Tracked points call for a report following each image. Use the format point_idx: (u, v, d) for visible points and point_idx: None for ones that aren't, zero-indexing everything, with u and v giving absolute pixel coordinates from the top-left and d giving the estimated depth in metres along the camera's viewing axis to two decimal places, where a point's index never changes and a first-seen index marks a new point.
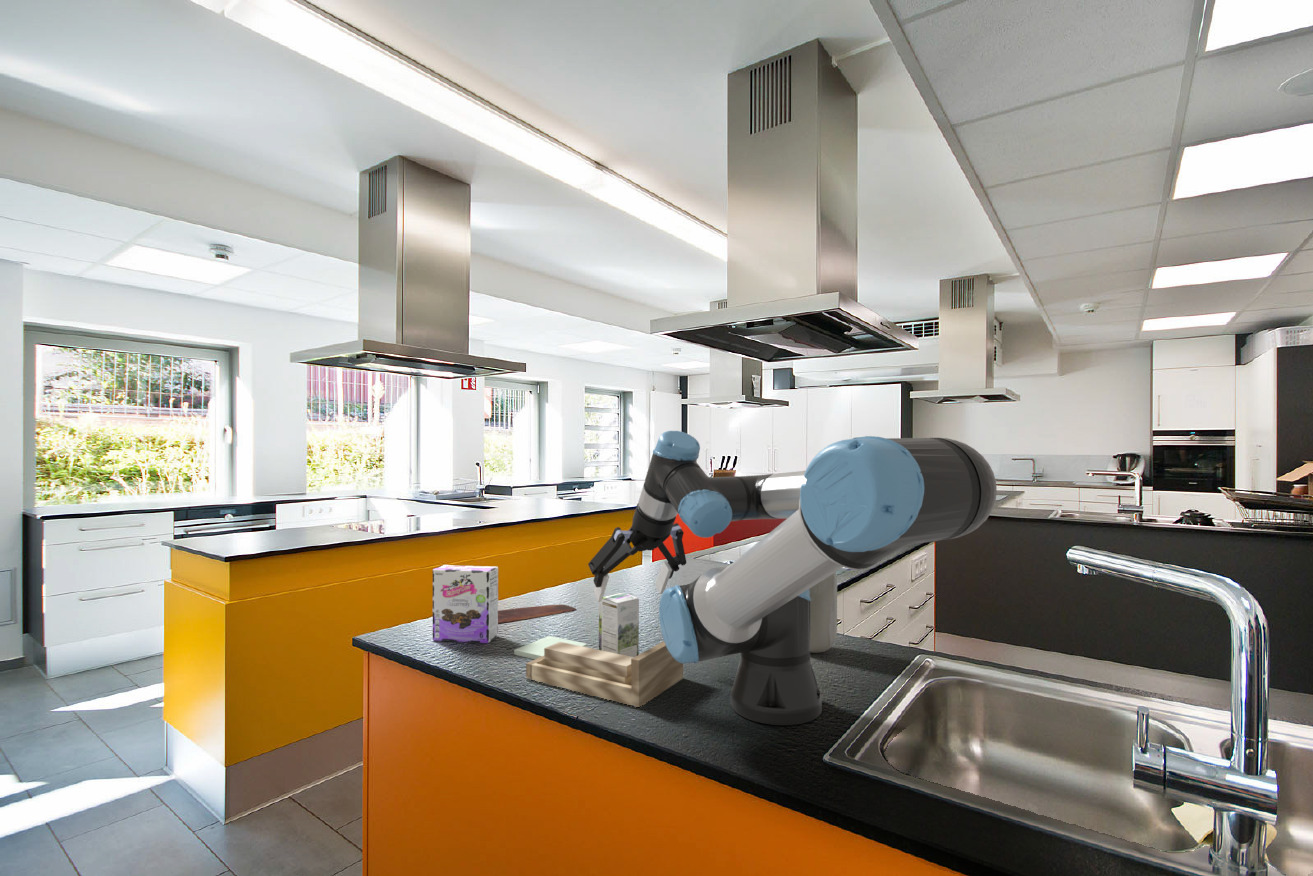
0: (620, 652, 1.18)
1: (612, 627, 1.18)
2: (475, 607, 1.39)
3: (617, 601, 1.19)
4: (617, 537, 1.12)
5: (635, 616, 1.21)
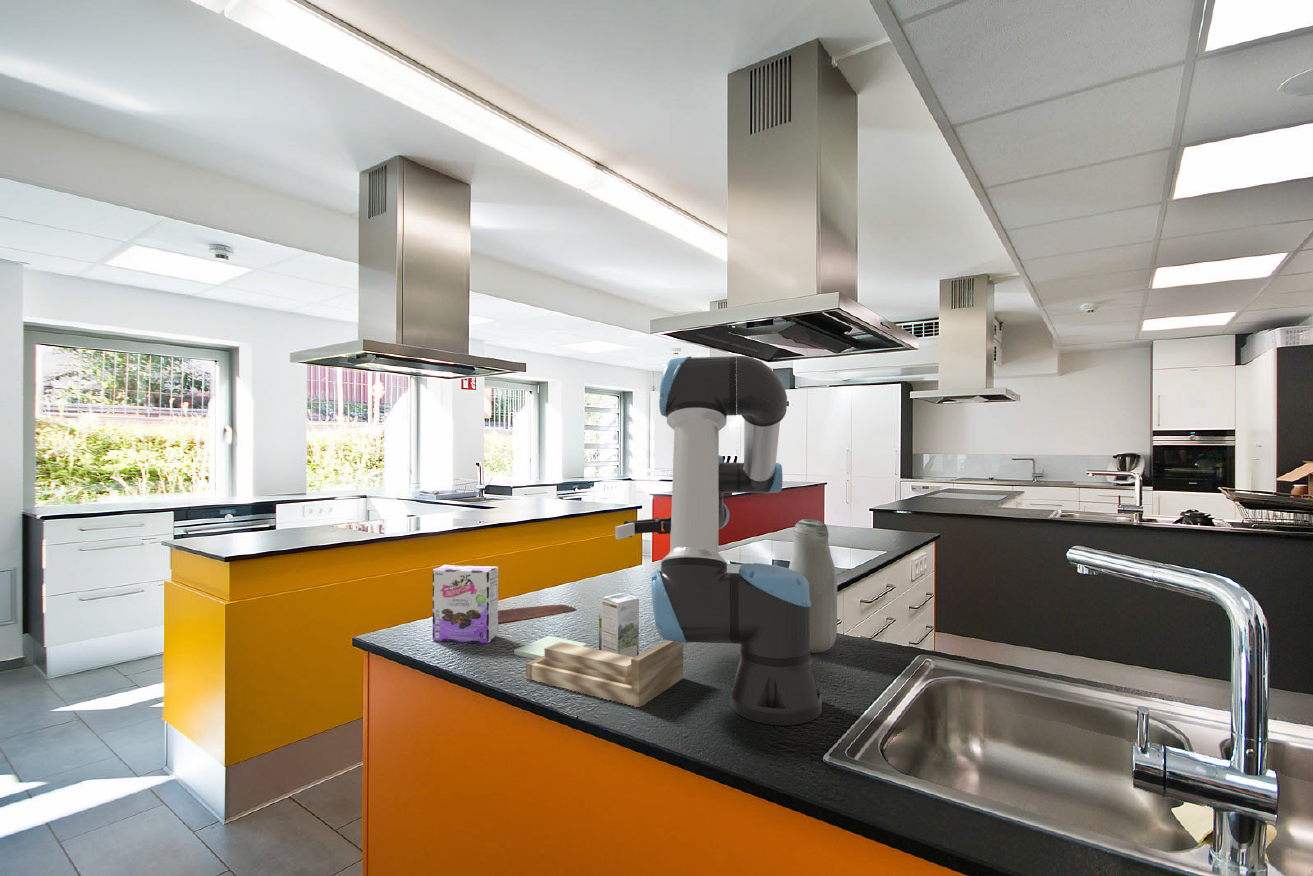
0: (620, 652, 1.18)
1: (612, 627, 1.18)
2: (475, 607, 1.39)
3: (617, 601, 1.19)
4: None
5: (635, 616, 1.21)
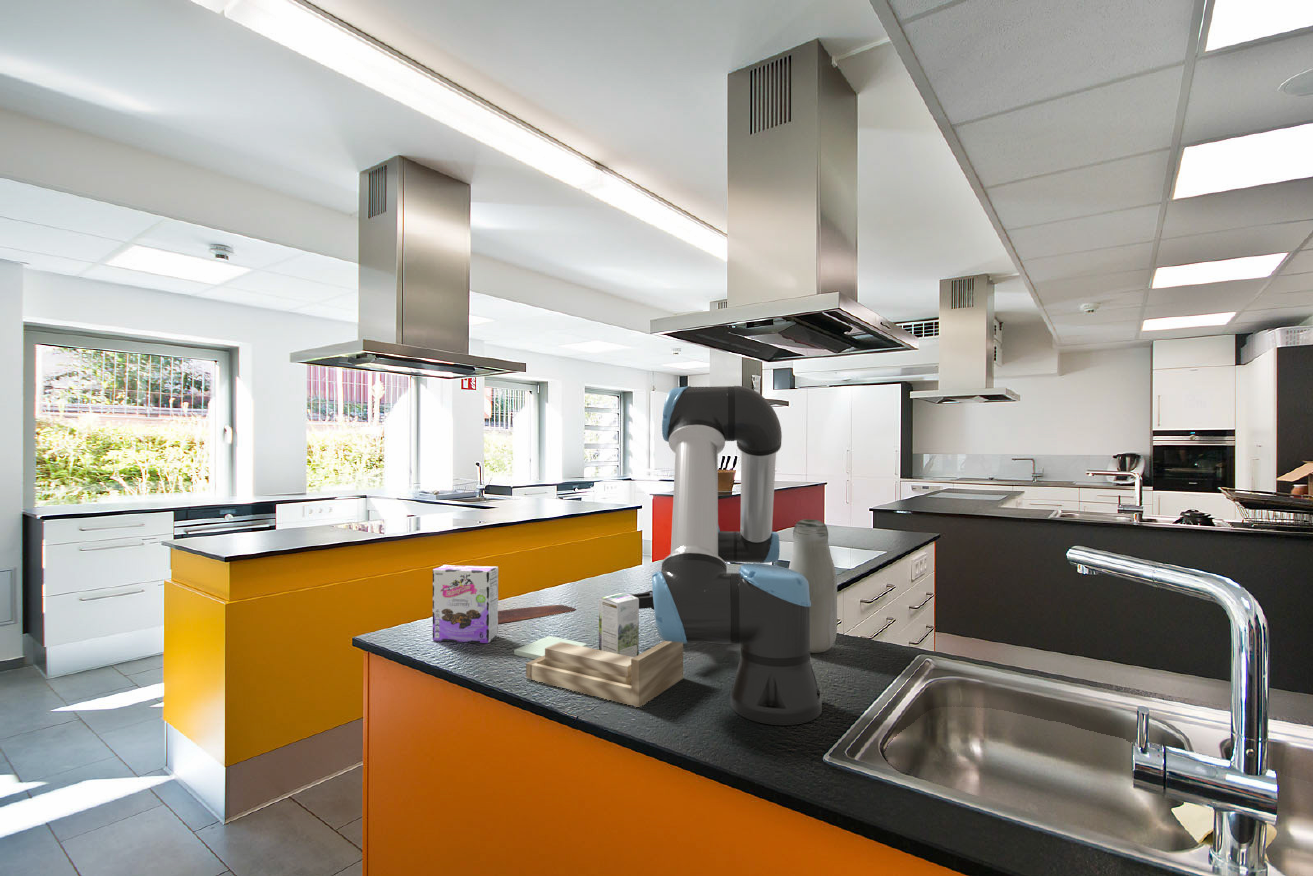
0: (620, 652, 1.18)
1: (612, 628, 1.18)
2: (475, 607, 1.39)
3: (617, 601, 1.19)
4: None
5: (635, 616, 1.21)
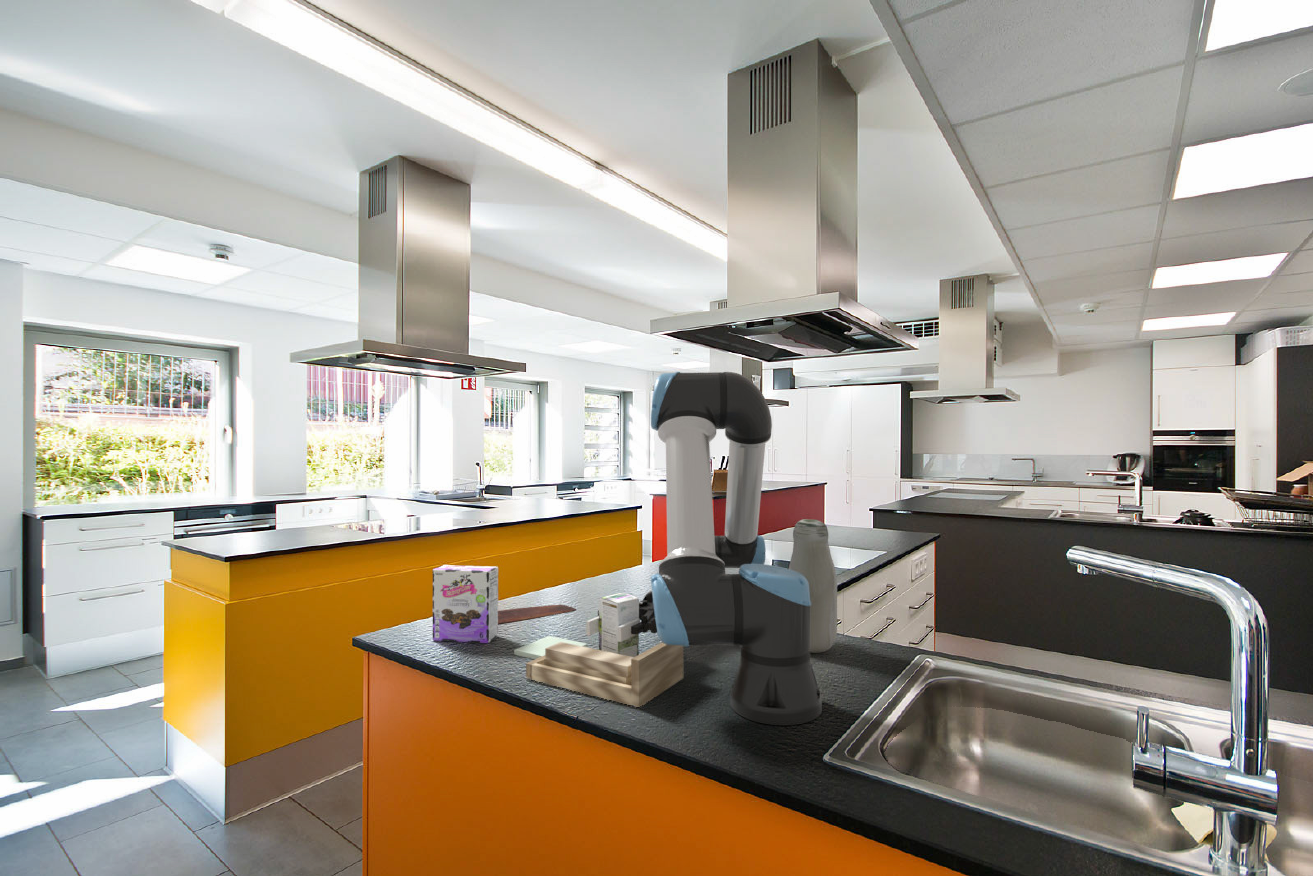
0: (620, 652, 1.18)
1: (612, 627, 1.18)
2: (475, 607, 1.39)
3: (617, 601, 1.19)
4: None
5: (635, 616, 1.21)
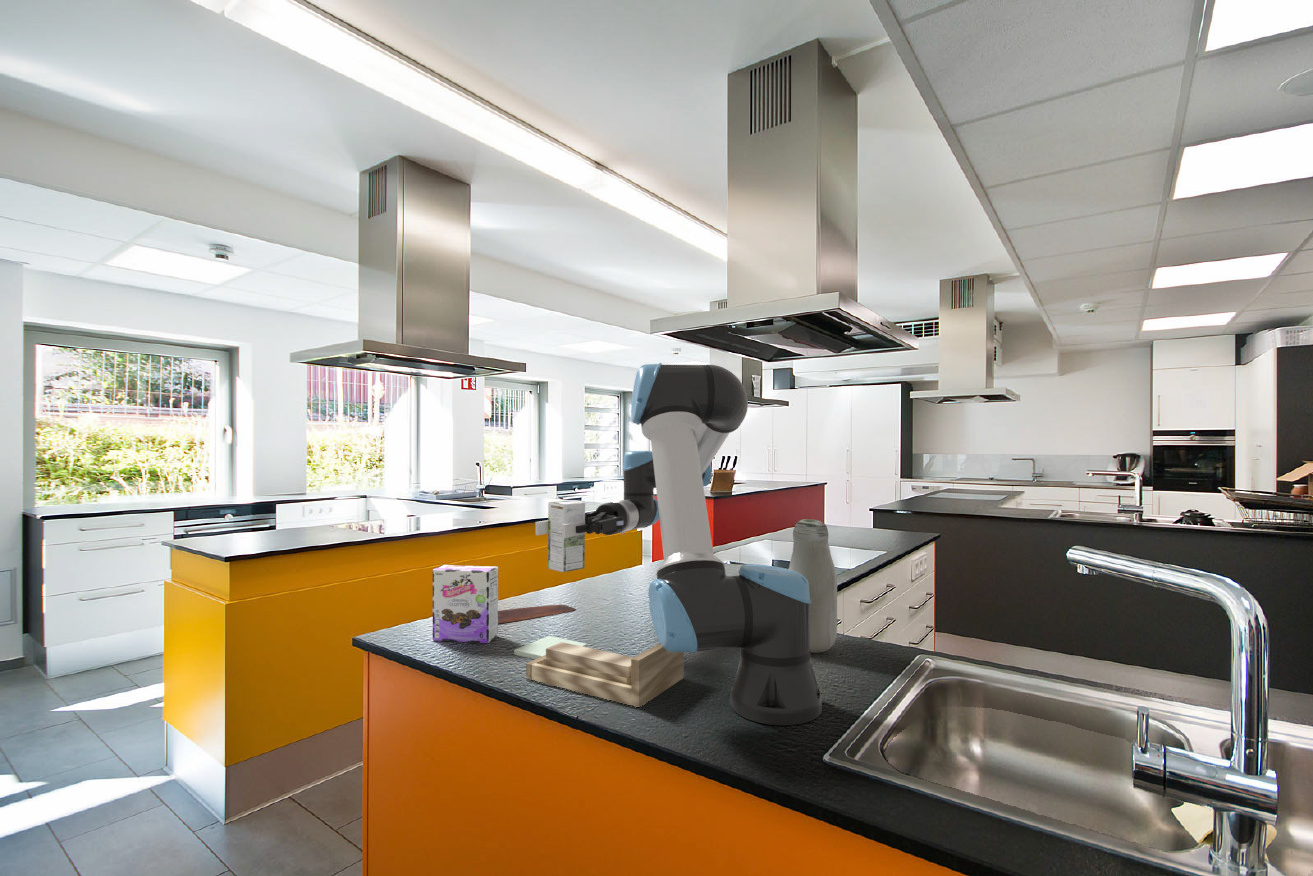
0: (566, 550, 1.29)
1: (559, 527, 1.29)
2: (475, 607, 1.39)
3: (563, 503, 1.29)
4: None
5: (581, 518, 1.31)
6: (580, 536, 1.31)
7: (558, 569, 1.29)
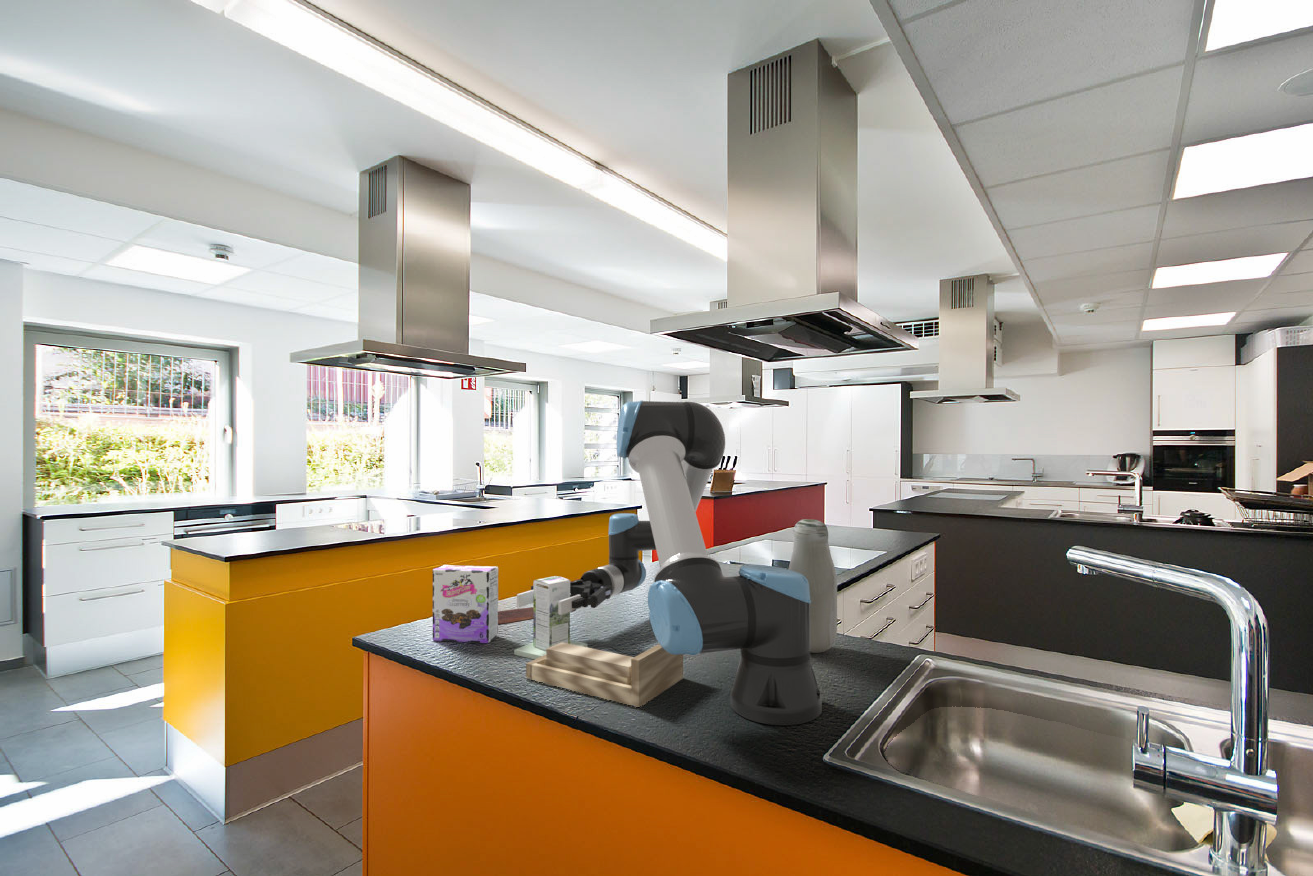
0: (552, 629, 1.30)
1: (544, 606, 1.30)
2: (475, 607, 1.39)
3: (549, 582, 1.30)
4: None
5: (566, 596, 1.32)
6: (565, 614, 1.32)
7: (544, 648, 1.30)
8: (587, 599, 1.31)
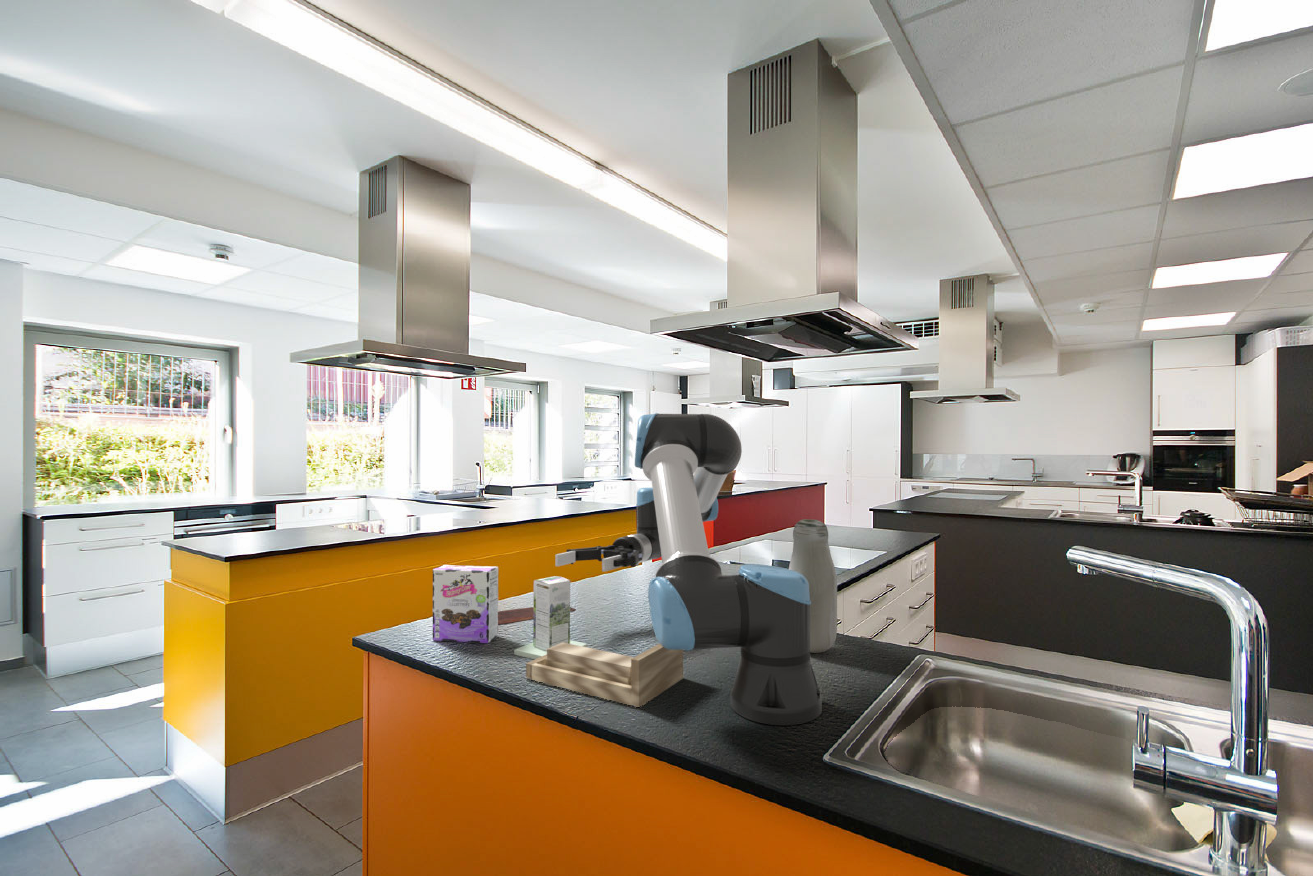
0: (552, 629, 1.30)
1: (545, 607, 1.30)
2: (475, 607, 1.39)
3: (549, 583, 1.30)
4: None
5: (566, 596, 1.32)
6: (565, 614, 1.32)
7: (544, 648, 1.30)
8: (627, 559, 1.43)
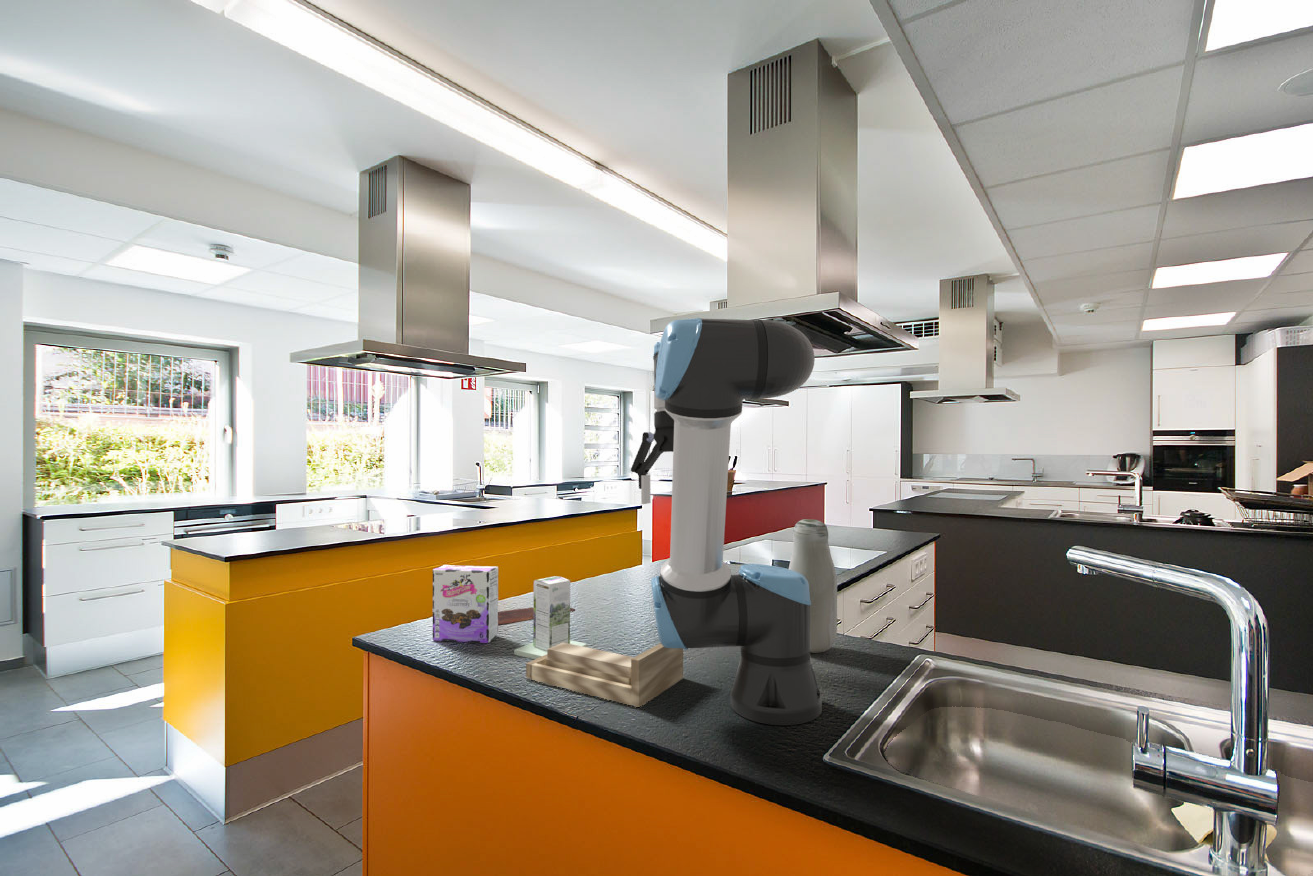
0: (552, 629, 1.30)
1: (545, 607, 1.30)
2: (475, 607, 1.39)
3: (549, 583, 1.30)
4: None
5: (567, 596, 1.32)
6: (565, 614, 1.32)
7: (544, 648, 1.30)
8: None
